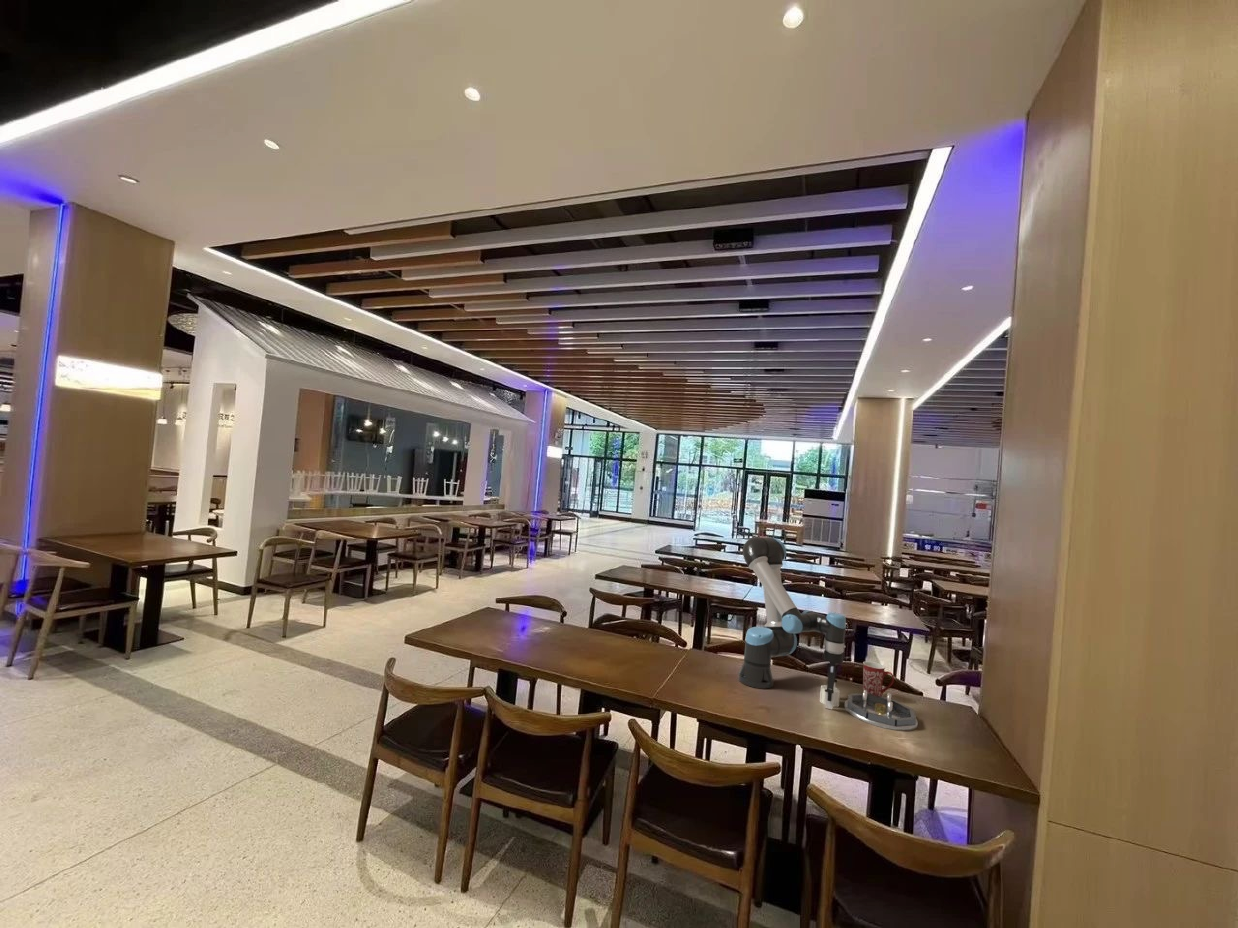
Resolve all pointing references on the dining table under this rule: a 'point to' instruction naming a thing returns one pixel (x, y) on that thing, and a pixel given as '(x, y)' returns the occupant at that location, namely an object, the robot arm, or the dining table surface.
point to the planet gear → (835, 696)
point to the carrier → (881, 711)
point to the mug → (874, 678)
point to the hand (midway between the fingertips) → (829, 703)
